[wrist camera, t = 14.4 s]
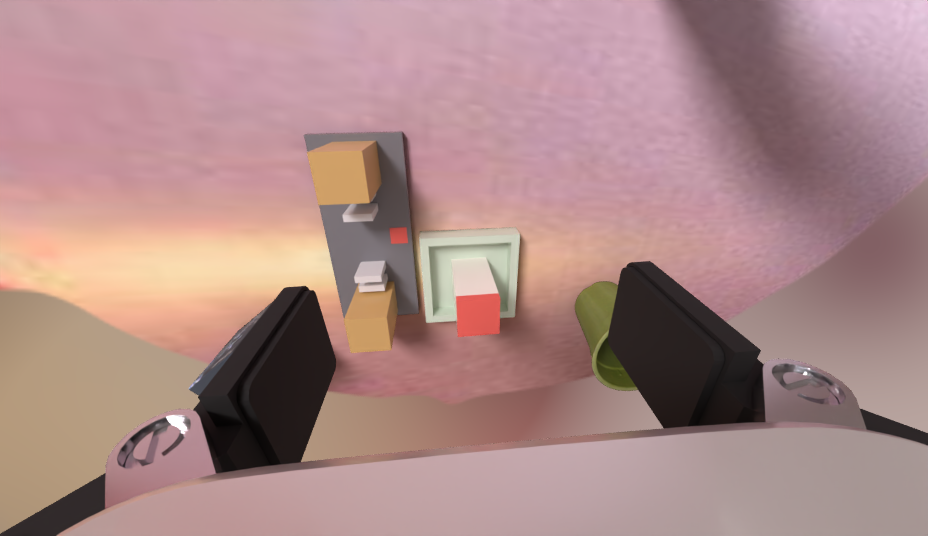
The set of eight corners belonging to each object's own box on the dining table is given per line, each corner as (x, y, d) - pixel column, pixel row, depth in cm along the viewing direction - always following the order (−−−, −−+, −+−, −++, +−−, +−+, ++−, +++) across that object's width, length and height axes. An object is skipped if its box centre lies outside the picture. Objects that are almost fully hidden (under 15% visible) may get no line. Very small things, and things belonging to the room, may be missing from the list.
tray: (515, 227, 42) (520, 234, 40) (510, 306, 47) (514, 317, 45) (419, 231, 41) (419, 239, 39) (426, 312, 46) (426, 322, 44)
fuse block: (402, 131, 36) (393, 140, 28) (418, 309, 46) (416, 353, 38) (307, 133, 35) (270, 143, 27) (345, 314, 45) (327, 359, 37)
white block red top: (486, 257, 43) (500, 298, 34) (486, 287, 45) (499, 333, 36) (451, 259, 42) (456, 301, 34) (452, 289, 44) (457, 336, 36)
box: (274, 298, 43) (231, 352, 34) (309, 324, 46) (277, 382, 36) (236, 330, 45) (185, 390, 36) (271, 354, 47) (232, 417, 38)
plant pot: (639, 323, 51) (690, 377, 41) (563, 342, 51) (595, 400, 41) (639, 255, 45) (697, 298, 35) (554, 277, 46) (588, 326, 36)
